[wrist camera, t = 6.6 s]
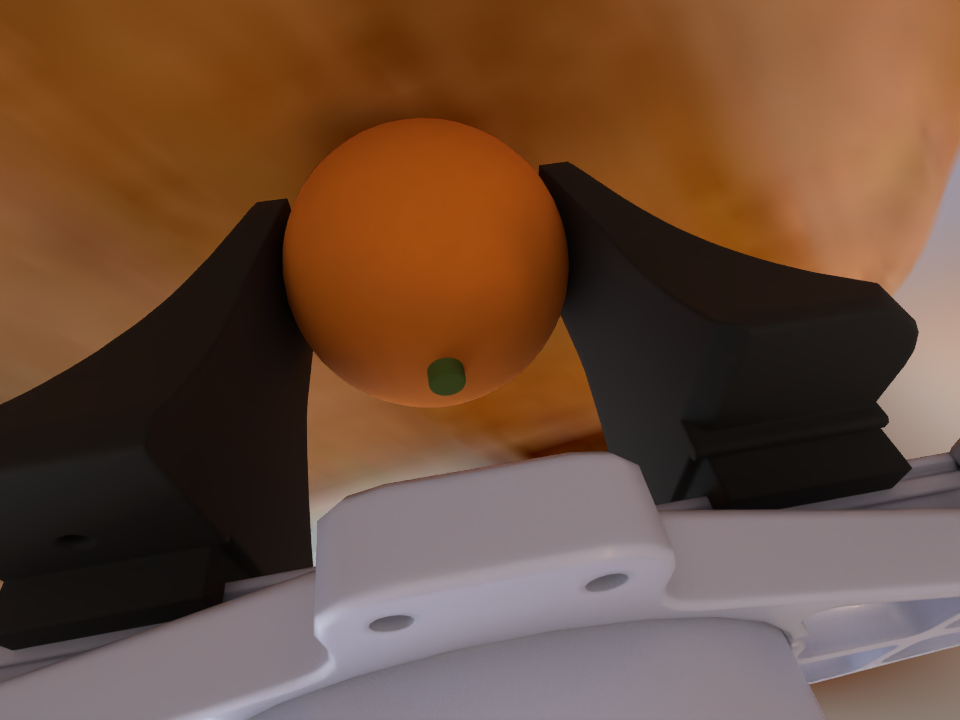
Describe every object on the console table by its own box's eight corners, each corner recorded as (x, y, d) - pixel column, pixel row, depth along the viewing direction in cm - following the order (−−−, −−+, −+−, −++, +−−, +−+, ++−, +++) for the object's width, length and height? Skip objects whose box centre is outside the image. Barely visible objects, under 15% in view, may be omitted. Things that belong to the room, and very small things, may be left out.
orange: (285, 273, 14) (261, 474, 10) (301, 35, 10) (274, 207, 6) (491, 299, 15) (540, 479, 11) (570, 106, 12) (679, 274, 8)
